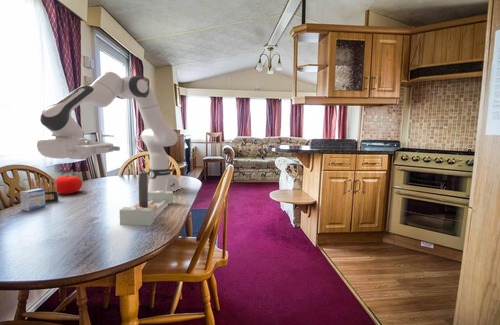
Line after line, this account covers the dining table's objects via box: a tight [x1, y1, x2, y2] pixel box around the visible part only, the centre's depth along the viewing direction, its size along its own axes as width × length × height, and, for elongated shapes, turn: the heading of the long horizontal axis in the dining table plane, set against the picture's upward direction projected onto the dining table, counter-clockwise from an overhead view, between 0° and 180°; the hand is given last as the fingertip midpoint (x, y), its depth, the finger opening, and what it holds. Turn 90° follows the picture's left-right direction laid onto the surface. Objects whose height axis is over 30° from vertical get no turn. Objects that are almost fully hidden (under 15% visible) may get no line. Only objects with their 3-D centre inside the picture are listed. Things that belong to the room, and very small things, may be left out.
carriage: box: [132, 171, 157, 211], centre depth 112 cm, size 8×9×17 cm
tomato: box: [55, 174, 83, 195], centre depth 150 cm, size 14×13×10 cm
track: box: [119, 191, 174, 226], centre depth 121 cm, size 34×12×6 cm, turn 1°
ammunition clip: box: [30, 177, 59, 203], centre depth 131 cm, size 11×2×12 cm, turn 120°
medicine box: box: [19, 188, 46, 212], centre depth 121 cm, size 8×4×9 cm, turn 168°
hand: (113, 149), depth 110 cm, fingers open, 8 cm apart
